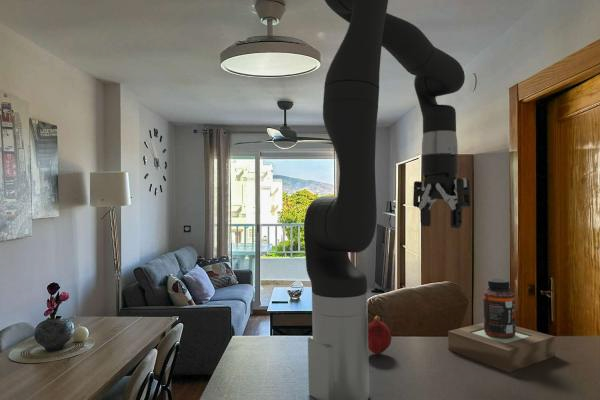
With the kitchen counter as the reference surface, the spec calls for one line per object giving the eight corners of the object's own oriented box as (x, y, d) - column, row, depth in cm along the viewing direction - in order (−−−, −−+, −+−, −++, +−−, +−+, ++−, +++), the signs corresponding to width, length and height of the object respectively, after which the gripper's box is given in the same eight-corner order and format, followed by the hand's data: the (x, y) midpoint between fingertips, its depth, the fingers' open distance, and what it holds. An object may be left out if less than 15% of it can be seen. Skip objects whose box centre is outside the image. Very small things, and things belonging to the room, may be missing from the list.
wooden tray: (509, 372, 78) (508, 350, 78) (448, 349, 90) (448, 331, 90) (555, 356, 85) (554, 336, 85) (493, 337, 97) (493, 320, 97)
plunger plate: (505, 348, 82) (505, 343, 82) (471, 337, 89) (471, 332, 89) (529, 341, 86) (529, 336, 86) (495, 331, 93) (495, 326, 93)
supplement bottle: (519, 339, 84) (518, 283, 84) (487, 338, 85) (486, 282, 85) (511, 330, 90) (509, 277, 90) (481, 329, 91) (480, 277, 91)
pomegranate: (392, 360, 85) (391, 320, 85) (363, 359, 86) (362, 320, 86) (390, 350, 90) (390, 313, 90) (363, 349, 91) (363, 312, 91)
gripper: (404, 156, 98) (405, 226, 97) (452, 148, 85) (453, 229, 85) (428, 157, 101) (429, 225, 101) (478, 150, 89) (479, 227, 88)
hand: (440, 226), depth 93 cm, fingers open, 8 cm apart
